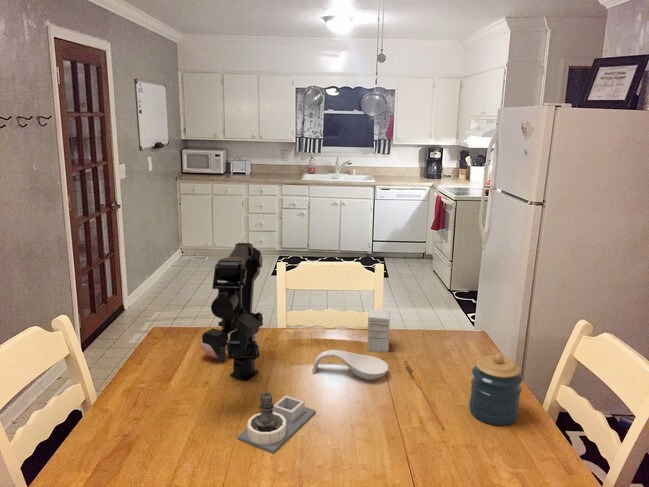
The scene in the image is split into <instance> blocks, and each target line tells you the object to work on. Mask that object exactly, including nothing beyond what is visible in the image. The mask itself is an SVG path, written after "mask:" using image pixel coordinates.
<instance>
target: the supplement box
mask: <svg viewBox="0 0 649 487" xmlns="http://www.w3.org/2000/svg"><path fill="white" fill-rule="evenodd" d="M390 315H391V314H390V310H387V309H386V310H385V309H369V310H368V317H367V348H366V349H367V352H377V353H378V352H379V353H389V350H390V349H389V346H390V344H389V343H390V325H391V324H390V320H391V319H390Z"/></svg>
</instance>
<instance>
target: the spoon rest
mask: <svg viewBox="0 0 649 487" xmlns="http://www.w3.org/2000/svg"><path fill="white" fill-rule="evenodd" d="M329 357H335V358H337V359H339V360H341V361H342V362H343V363H344V364H345V365H346V366H347V367H348V368H349V370H351V372H353V373H354V375H356V376H357V377H359V378H360V379H362V380H367V381H369V380H371V381H372V380H376V379H379V378H382V377H384V376H385V375H386V373H387V372H388V370H389V365H388V363H387V362H386V361H384V360H382V359H381V358H378V357H375V356H371V355H365V354H362V353H360V354H359V353H354V352H350V351H344V350H341V349H328V350H324V351H323V352H320V353H319V354H318V355H317V356H316V358H315V360H314V363H313V366H312V371H311V372H312V374H315V373H316V372H317V370H318V369H319V368H318V367H319V363H320V361H322V360H323V359H326V358H329Z"/></svg>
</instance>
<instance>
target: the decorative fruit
mask: <svg viewBox="0 0 649 487" xmlns="http://www.w3.org/2000/svg"><path fill="white" fill-rule="evenodd" d="M228 341H229V340H228ZM228 341H227V342H228ZM200 348H201V350H202V351H203V353H204V354H205V355H206V356H208V357H210V358H213V359H218V357H217V355H216V354H215V352H214V350H213V349H212V348H211V346H210V345H208V344H205V343H202V339H201V340H200ZM226 352H228V350H227V346H226V347H225V354H226Z"/></svg>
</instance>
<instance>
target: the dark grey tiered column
mask: <svg viewBox="0 0 649 487" xmlns="http://www.w3.org/2000/svg"><path fill="white" fill-rule="evenodd" d="M258 408H259V409H260V413H261V415H259V416H258V417H257V418H256V419H255V423H256V425H257V427H258V430H257V431H260V432H271V431H274V430H277V429H276V428H275V427H276V425H277V423H278V417H277V416H276V415H274V414H273V408H274V404H273V394H272V393H270V392H268V390H267V389H266V390H265V391H264V392H263V393H261V395H260V405H259V407H258Z"/></svg>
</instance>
